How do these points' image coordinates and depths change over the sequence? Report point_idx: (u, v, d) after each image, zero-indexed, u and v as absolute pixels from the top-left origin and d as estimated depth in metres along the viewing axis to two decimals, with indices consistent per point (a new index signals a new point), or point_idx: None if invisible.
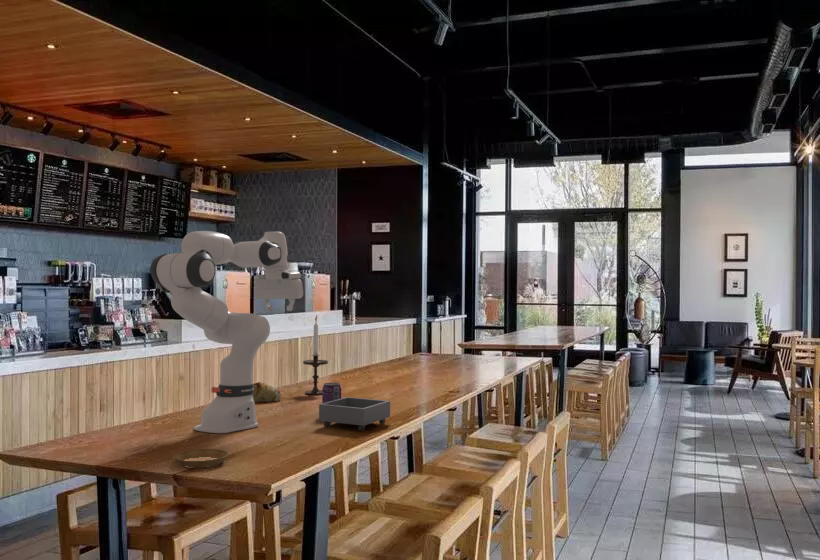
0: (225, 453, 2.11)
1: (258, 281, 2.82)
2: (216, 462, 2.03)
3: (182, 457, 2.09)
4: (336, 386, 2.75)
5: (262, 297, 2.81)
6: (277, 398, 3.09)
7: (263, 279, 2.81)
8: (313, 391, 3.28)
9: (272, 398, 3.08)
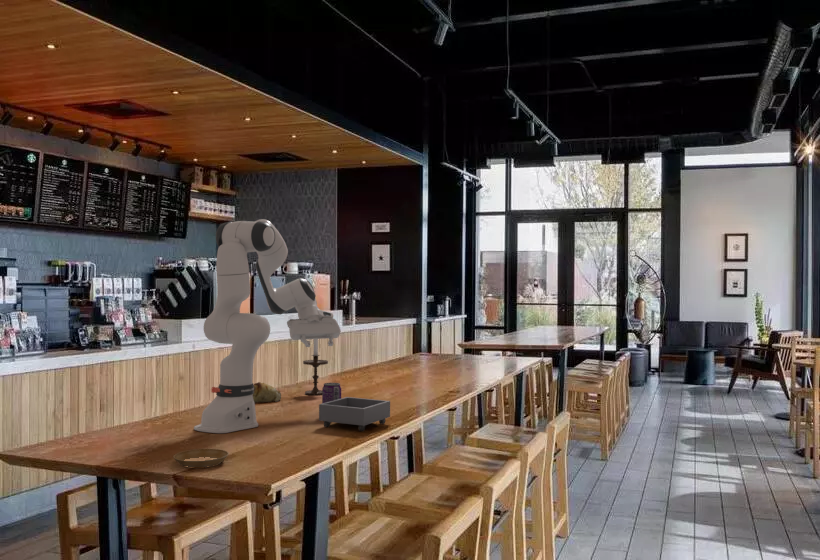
0: (225, 453, 2.11)
1: (295, 321, 2.91)
2: (216, 462, 2.03)
3: (182, 457, 2.09)
4: (336, 386, 2.75)
5: (302, 332, 2.88)
6: (277, 398, 3.08)
7: None
8: (313, 391, 3.28)
9: (272, 398, 3.08)
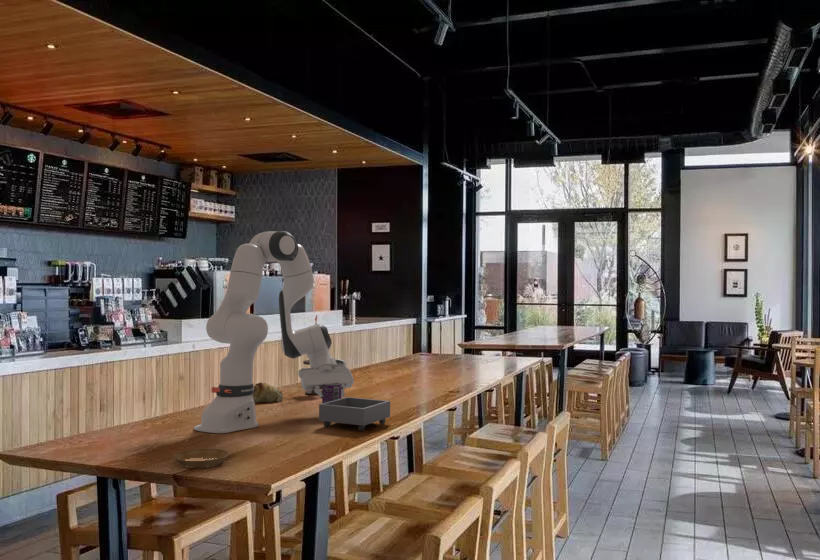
0: (225, 453, 2.11)
1: (307, 370, 2.80)
2: (216, 462, 2.03)
3: (182, 457, 2.09)
4: (336, 386, 2.75)
5: (314, 383, 2.76)
6: (279, 398, 3.08)
7: (311, 370, 2.81)
8: (313, 391, 3.28)
9: (274, 398, 3.07)
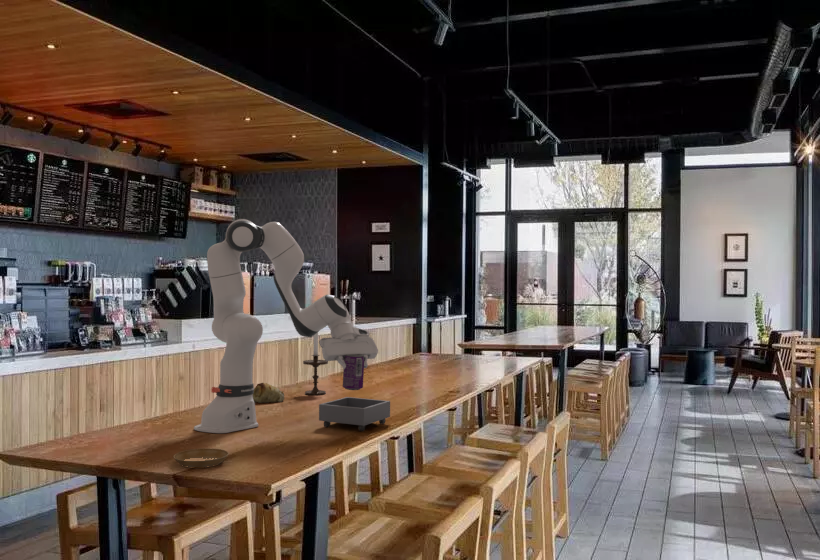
0: (225, 453, 2.11)
1: (328, 340, 2.62)
2: (217, 462, 2.03)
3: (181, 457, 2.09)
4: (359, 357, 2.57)
5: (337, 353, 2.59)
6: (281, 398, 3.07)
7: None
8: (313, 391, 3.28)
9: (276, 398, 3.07)
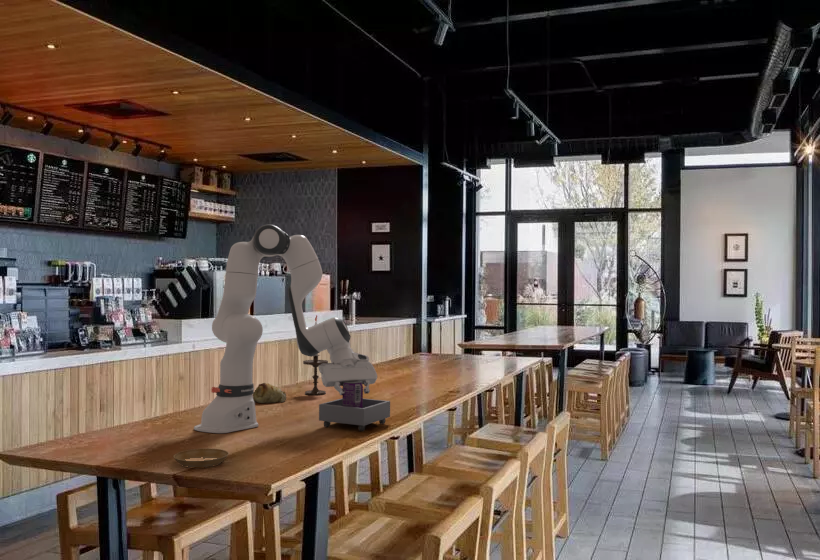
0: (224, 453, 2.11)
1: (328, 365, 2.62)
2: (217, 462, 2.04)
3: (181, 457, 2.09)
4: (358, 384, 2.58)
5: (336, 379, 2.59)
6: (283, 399, 3.07)
7: (332, 365, 2.64)
8: (313, 391, 3.28)
9: (278, 399, 3.06)
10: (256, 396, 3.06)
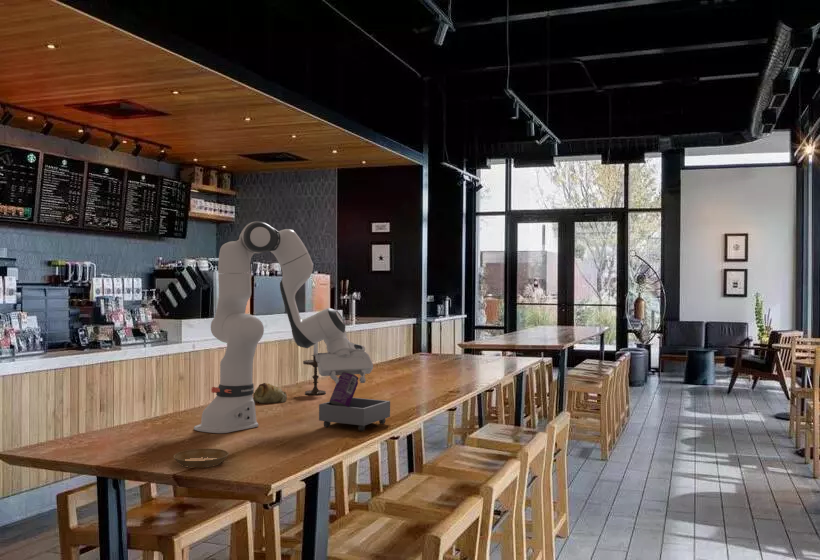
0: (224, 453, 2.11)
1: (324, 355, 2.65)
2: (218, 462, 2.04)
3: (181, 457, 2.09)
4: (354, 377, 2.61)
5: (332, 368, 2.62)
6: (284, 399, 3.07)
7: None
8: (313, 391, 3.28)
9: (279, 399, 3.06)
10: (257, 396, 3.06)
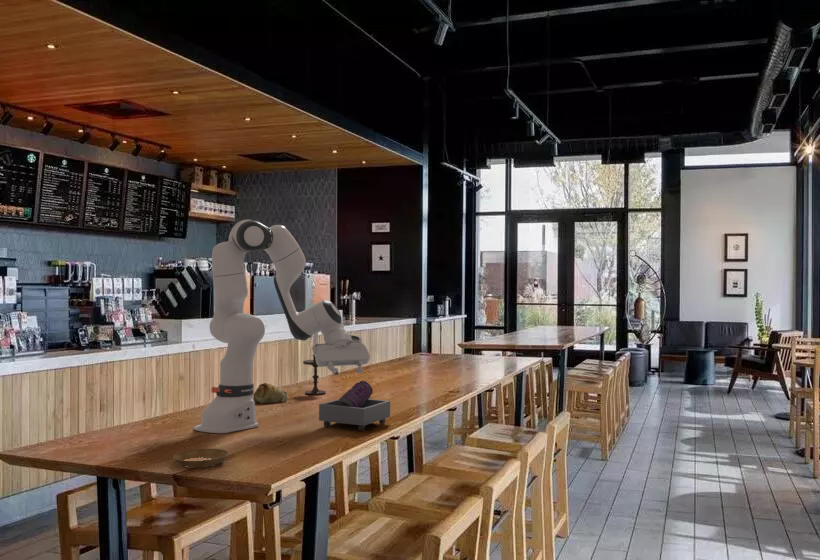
0: (224, 452, 2.11)
1: (321, 346, 2.68)
2: (218, 461, 2.04)
3: (181, 457, 2.09)
4: None
5: (329, 359, 2.65)
6: (284, 399, 3.07)
7: None
8: (313, 391, 3.28)
9: (279, 399, 3.06)
10: (257, 396, 3.06)
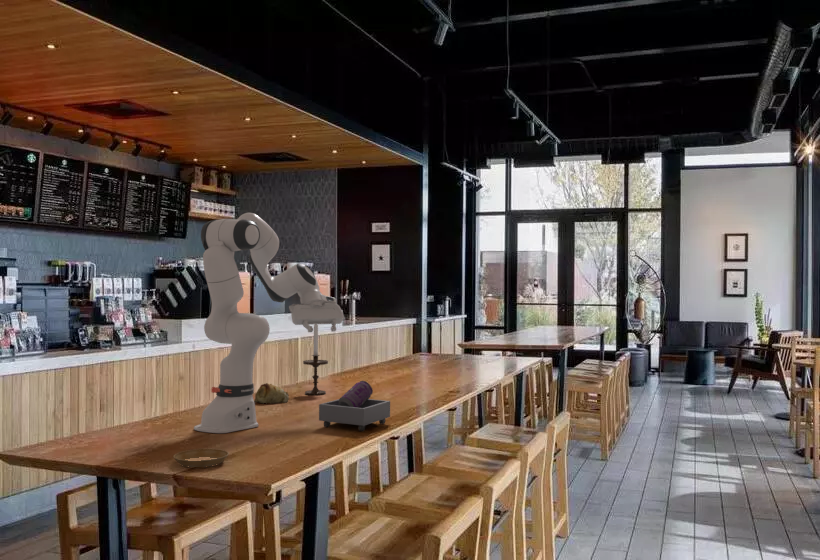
0: (224, 452, 2.11)
1: (297, 305, 2.84)
2: (218, 461, 2.04)
3: (180, 457, 2.09)
4: None
5: (305, 317, 2.81)
6: (286, 399, 3.06)
7: None
8: (313, 391, 3.28)
9: (281, 399, 3.05)
10: (259, 396, 3.05)
